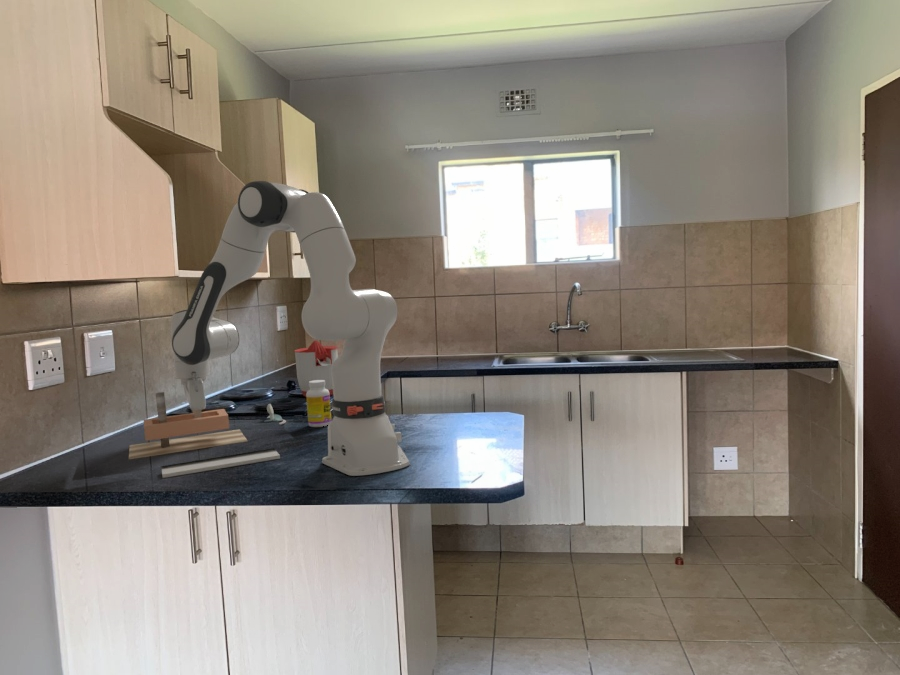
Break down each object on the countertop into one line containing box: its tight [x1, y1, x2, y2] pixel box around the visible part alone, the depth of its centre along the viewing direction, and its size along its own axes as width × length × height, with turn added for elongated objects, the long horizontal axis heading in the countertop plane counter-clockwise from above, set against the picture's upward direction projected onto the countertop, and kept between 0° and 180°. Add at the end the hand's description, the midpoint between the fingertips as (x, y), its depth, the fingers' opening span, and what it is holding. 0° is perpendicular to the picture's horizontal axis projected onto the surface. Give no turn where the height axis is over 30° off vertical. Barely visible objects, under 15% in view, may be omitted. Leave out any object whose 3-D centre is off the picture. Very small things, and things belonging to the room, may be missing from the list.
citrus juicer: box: [293, 339, 339, 398], centre depth 245 cm, size 16×17×20 cm
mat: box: [160, 447, 281, 479], centre depth 164 cm, size 14×26×1 cm, turn 114°
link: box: [143, 408, 230, 442], centre depth 177 cm, size 10×20×4 cm, turn 115°
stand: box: [128, 391, 248, 460], centre depth 177 cm, size 16×28×16 cm, turn 114°
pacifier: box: [263, 403, 287, 426], centre depth 202 cm, size 7×6×6 cm
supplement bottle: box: [305, 380, 332, 428], centre depth 196 cm, size 7×7×13 cm
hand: (197, 421), depth 182 cm, fingers closed on link, 2 cm apart
